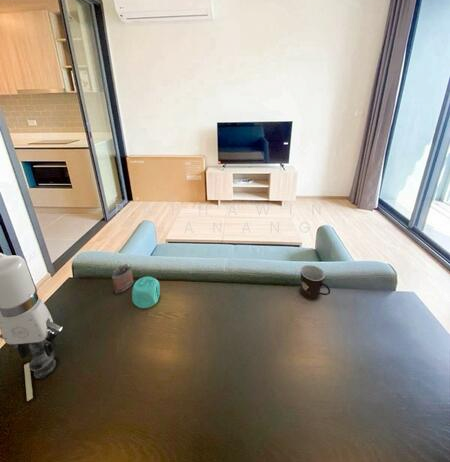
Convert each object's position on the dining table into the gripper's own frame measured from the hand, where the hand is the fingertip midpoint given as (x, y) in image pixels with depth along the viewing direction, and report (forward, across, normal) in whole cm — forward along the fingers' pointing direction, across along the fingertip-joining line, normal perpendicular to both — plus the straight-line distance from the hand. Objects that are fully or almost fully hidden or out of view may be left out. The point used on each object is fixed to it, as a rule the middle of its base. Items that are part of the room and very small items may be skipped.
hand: (39, 351), depth 68 cm
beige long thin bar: (+7, -3, -3) cm, 8 cm away
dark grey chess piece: (+7, 0, 0) cm, 7 cm away
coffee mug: (+7, +87, +19) cm, 89 cm away
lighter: (+7, +13, +31) cm, 34 cm away
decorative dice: (+7, +24, +23) cm, 34 cm away
